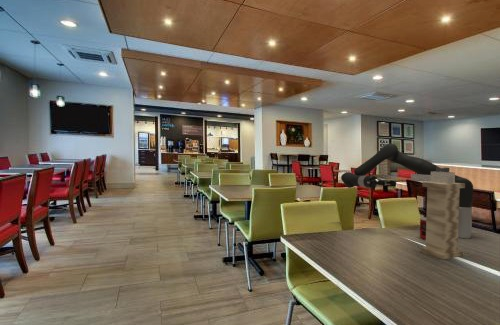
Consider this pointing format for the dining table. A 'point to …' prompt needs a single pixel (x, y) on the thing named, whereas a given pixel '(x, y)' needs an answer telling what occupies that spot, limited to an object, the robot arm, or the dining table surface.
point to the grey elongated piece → (436, 176)
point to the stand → (442, 220)
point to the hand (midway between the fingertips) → (390, 183)
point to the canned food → (423, 228)
